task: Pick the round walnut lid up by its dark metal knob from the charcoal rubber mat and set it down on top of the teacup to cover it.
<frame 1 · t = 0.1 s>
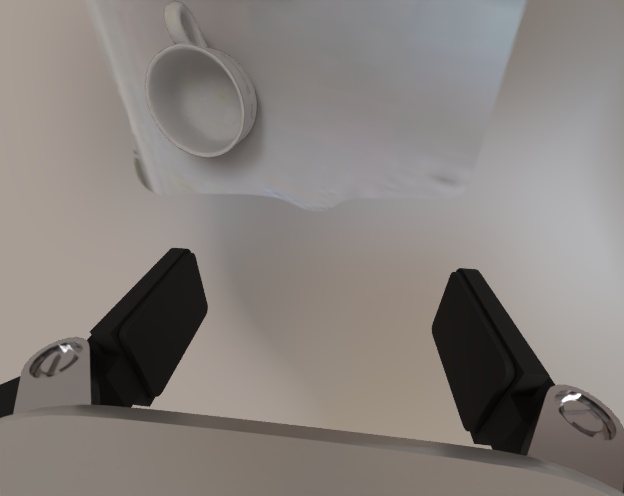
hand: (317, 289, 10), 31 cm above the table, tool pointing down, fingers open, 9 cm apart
teacup: (221, 85, 35), on the table
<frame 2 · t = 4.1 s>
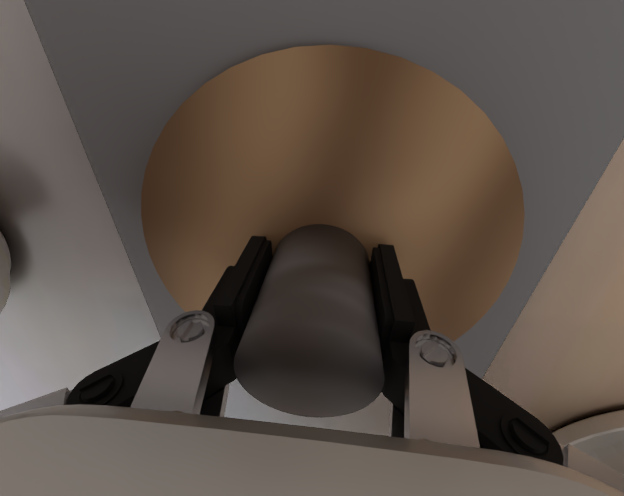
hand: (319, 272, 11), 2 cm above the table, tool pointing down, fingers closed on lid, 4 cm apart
mat: (322, 247, 13), on the table
lid: (322, 253, 12), resting on mat, touching gripper
when the fingers open (12 cm above the table, at t = 8.6 s): lid drops 2 cm, resting on teacup.
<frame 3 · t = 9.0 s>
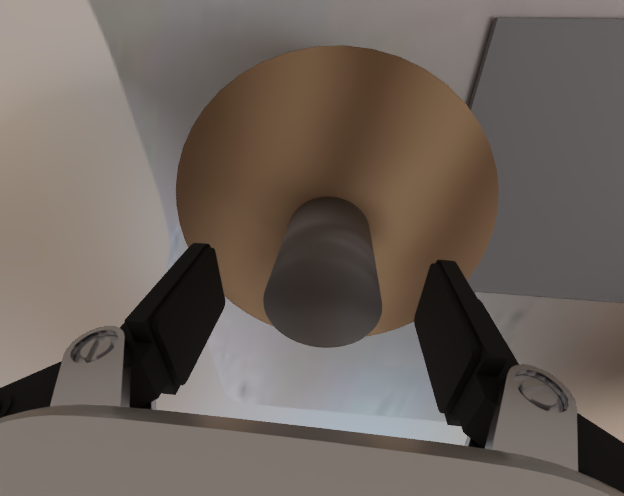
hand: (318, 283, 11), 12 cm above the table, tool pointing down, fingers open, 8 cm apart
mat: (583, 191, 20), on the table
lid: (329, 225, 14), point 8 cm above the table, touching teacup
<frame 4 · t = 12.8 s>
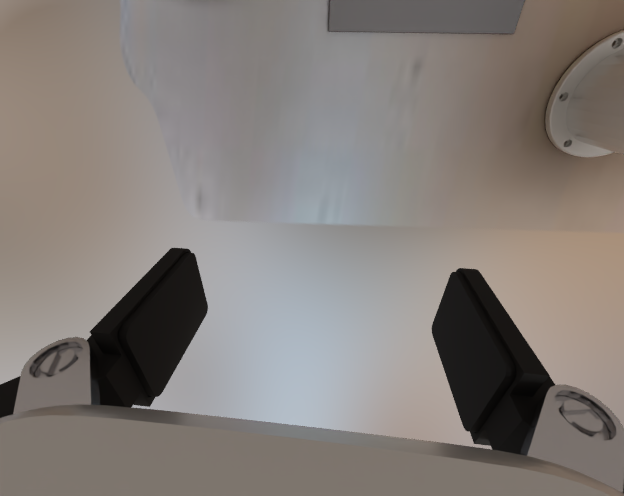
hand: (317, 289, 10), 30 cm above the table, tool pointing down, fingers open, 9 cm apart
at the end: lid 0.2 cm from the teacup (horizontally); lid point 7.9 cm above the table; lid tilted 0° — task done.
